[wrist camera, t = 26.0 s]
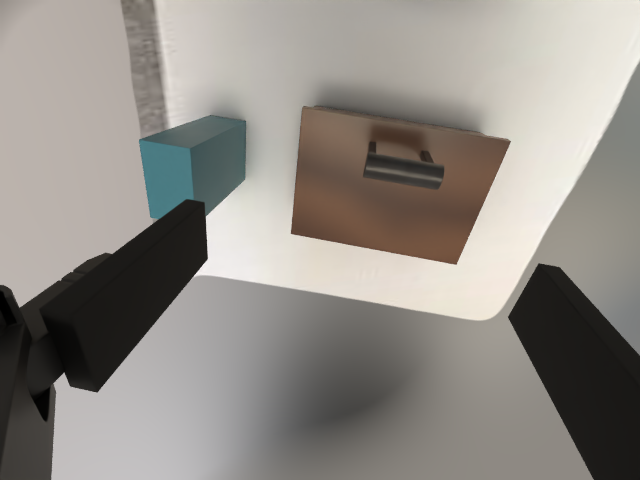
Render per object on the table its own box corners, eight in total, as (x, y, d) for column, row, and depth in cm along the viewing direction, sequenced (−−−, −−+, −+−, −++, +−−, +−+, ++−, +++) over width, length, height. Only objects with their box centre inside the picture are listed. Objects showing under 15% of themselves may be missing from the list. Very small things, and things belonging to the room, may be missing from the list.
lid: (303, 105, 31) (284, 123, 24) (508, 139, 30) (545, 167, 23) (292, 230, 38) (275, 269, 32) (455, 260, 37) (471, 308, 31)
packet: (209, 115, 40) (138, 139, 28) (246, 121, 39) (190, 148, 27) (212, 173, 43) (150, 217, 31) (245, 179, 43) (195, 226, 31)
